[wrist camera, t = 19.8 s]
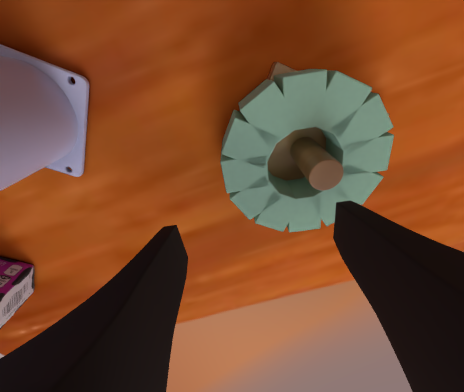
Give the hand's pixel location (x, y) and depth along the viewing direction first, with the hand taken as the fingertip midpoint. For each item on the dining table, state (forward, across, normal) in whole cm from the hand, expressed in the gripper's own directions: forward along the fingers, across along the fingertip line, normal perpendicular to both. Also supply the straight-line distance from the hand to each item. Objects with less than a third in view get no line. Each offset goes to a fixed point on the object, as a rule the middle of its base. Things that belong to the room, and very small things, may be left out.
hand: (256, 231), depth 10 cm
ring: (+8, -4, 0) cm, 9 cm away
